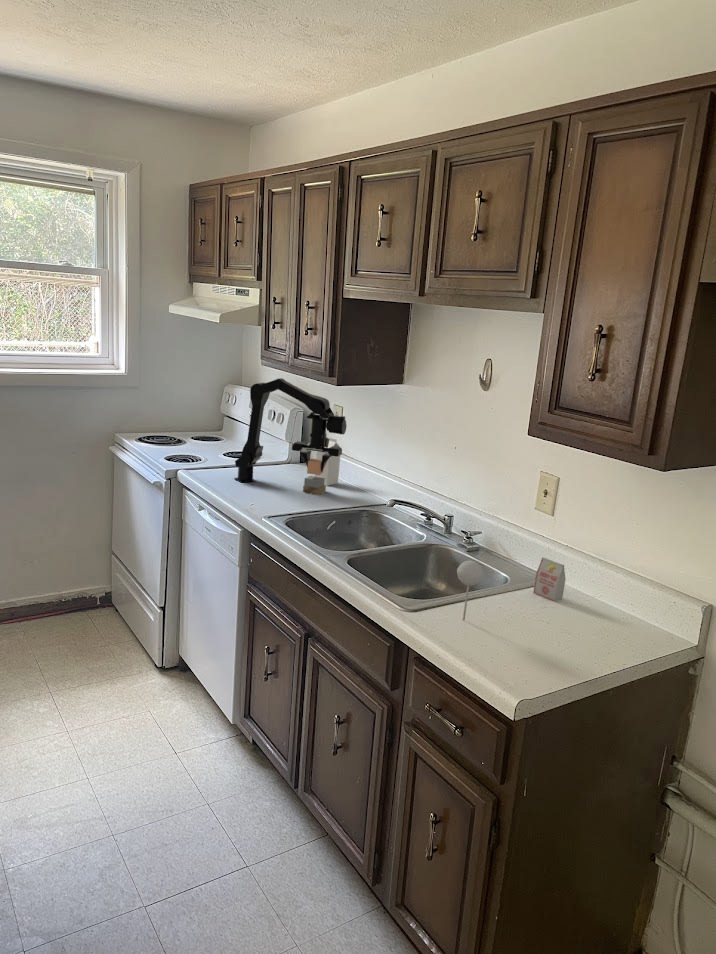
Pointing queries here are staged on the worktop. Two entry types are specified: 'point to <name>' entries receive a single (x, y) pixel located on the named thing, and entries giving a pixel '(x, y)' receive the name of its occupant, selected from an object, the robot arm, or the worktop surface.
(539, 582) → the white printed box
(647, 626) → the worktop surface
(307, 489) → the tower bottom
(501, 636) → the worktop surface
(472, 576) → the lollipop
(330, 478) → the milk carton
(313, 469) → the terracotta cube
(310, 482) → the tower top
